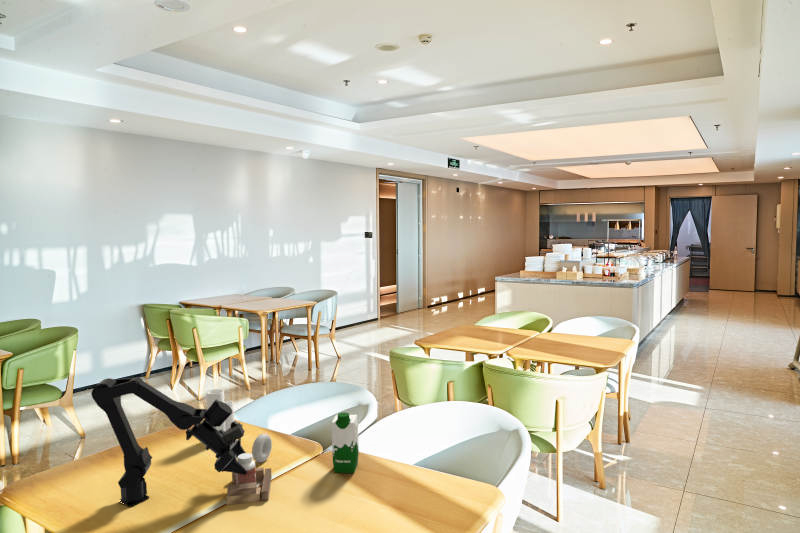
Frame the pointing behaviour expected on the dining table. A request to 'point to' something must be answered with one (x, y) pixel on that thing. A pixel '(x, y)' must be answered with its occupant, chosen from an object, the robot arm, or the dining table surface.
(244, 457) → the pill bottle
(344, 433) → the milk carton
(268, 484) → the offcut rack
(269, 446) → the grey rounded piece
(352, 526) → the dining table surface
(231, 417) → the vase
